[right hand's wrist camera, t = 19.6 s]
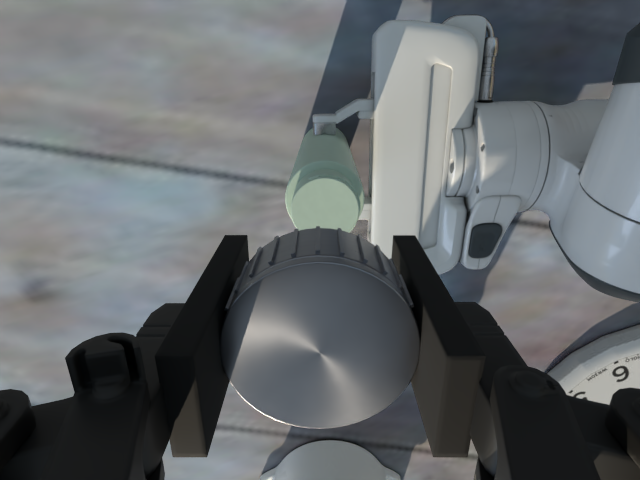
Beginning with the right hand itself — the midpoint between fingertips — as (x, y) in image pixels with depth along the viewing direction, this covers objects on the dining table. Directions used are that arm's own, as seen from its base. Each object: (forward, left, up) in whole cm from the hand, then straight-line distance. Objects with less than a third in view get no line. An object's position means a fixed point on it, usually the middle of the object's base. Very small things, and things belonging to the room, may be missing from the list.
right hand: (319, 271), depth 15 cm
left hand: (0, -1, -21) cm, 21 cm away
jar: (0, 0, -27) cm, 27 cm away
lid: (0, 0, +4) cm, 4 cm away
